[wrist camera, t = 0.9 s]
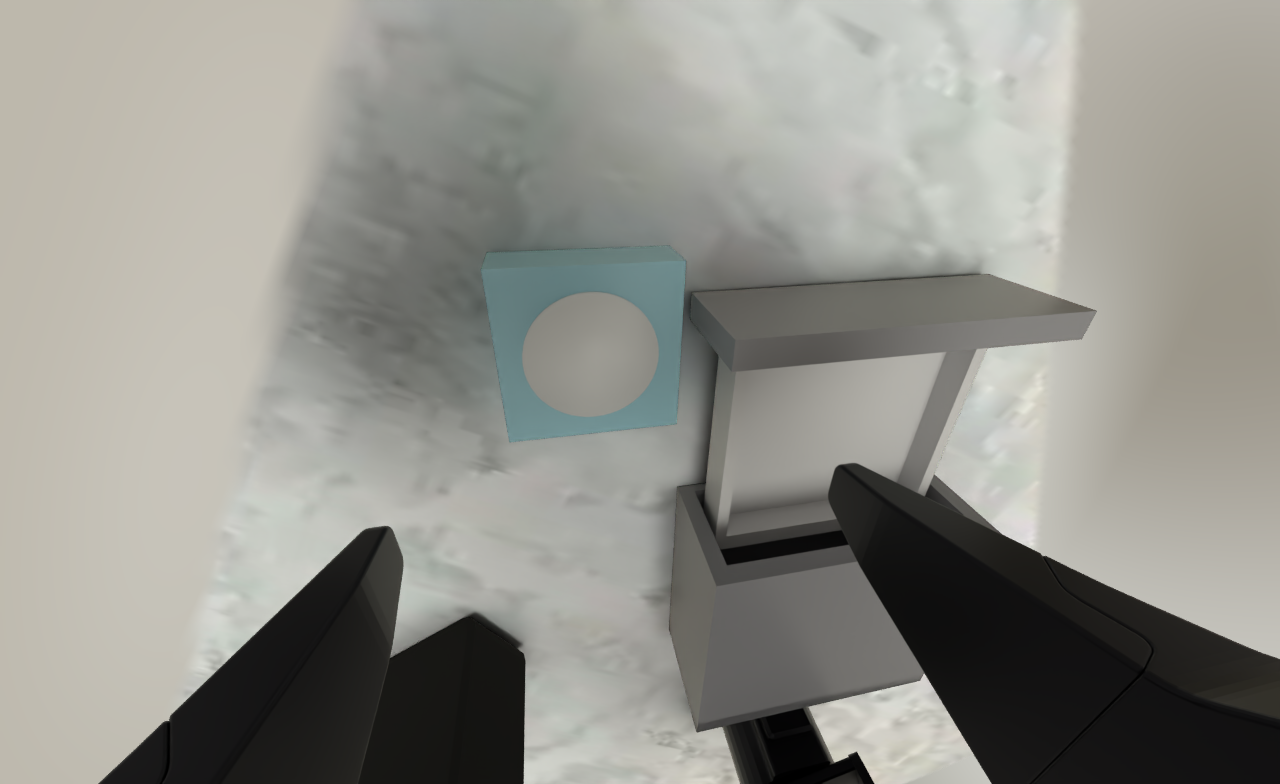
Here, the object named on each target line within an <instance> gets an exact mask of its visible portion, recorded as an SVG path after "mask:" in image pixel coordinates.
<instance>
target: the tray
mask: <svg viewBox="0 0 1280 784" xmlns="http://www.w3.org/2000/svg"><path fill="white" fill-rule="evenodd" d="M1096 312H1097V311H1096V310H1093V309H1090V308H1087V307H1084V306H1081V305H1078V304H1075V303H1072V302H1069V301H1067V300H1064V299H1061V298H1058V297H1055V296H1052V295H1049V294H1046V293H1043V292H1040V291H1037V290H1034V289H1031V288H1028V287H1025V286H1022V285H1019V284H1016V283H1013V282H1010V281H1007V280H1005V279H1002V278H999V277H996V276H993V275H990V274H984V275H967V276H951V277H935V278H919V279H903V280H887V281H870V282H854V283H838V284H822V285H806V286H790V287H774V288H757V289H741V290H725V291H709V292H693V293H692V295H691V311H690V320H691V321H692V322H693V323H694V325H695V326H696V327H697V329H698V330H699V331H700V332H701V334H702V335H703V336H704V337H705V339H706V340H707V341H708V343H709V344H710V345H711V346H712V348H713V349H714V350H715V351H716V353H717V354H718V355H719V359H718V369H717V379H716V389H715V399H714V409H713V418H712V428H711V438H710V448H709V458H708V468H707V478H706V488H705V498H704V508H703V512H704V514H705V516H706V518H707V521H708V523H709V525H710V528H711V530H712V532H713V535H714V537H715V539H716V541H717V544H718V546H719V548H720V550H721V549H727V548H734V547H740V546H746V545H752V544H758V543H764V542H770V541H777V540H783V539H789V538H795V537H801V536H807V535H813V534H820V533H826V532H832V531H838V530H842V529H841V527H840V525H839V523H838V521H837V519H836V517H835V515H834V512H833V510H832V508H831V506H830V504H829V501H828V491H829V487H830V484H831V480H832V476H833V473H834V470H835V468H836V467H837V466H838V465H840V464H847V463H858V464H860V465H862V466H864V467H866V468H868V469H870V470H872V471H874V472H876V473H878V474H880V475H882V476H884V477H886V478H888V479H890V480H892V481H894V482H896V483H898V484H901V485H903V486H905V487H907V488H909V489H911V490H913V491H915V492H917V493H919V494H921V495H923V496H925V494H926V492H927V490H928V487H929V485H930V483H931V480H932V478H933V476H934V473H935V471H936V469H937V466H938V464H939V461H940V459H941V457H942V454H943V452H944V450H945V447H946V445H947V443H948V440H949V438H950V436H951V433H952V431H953V429H954V426H955V424H956V422H957V419H958V417H959V415H960V412H961V410H962V408H963V405H964V403H965V401H966V398H967V396H968V394H969V391H970V389H971V386H972V384H973V382H974V379H975V377H976V375H977V372H978V370H979V368H980V365H981V363H982V361H983V358H984V356H985V354H986V351H987V349H988V348H994V347H1004V346H1015V345H1026V344H1036V343H1047V342H1058V341H1068V340H1079V339H1082V338H1083V336H1084V334H1085V332H1086V331H1087V328H1088V327H1089V325H1090V323H1091V321H1092V319H1093V318H1094V316H1095V314H1096Z"/></svg>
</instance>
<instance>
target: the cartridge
mask: <svg viewBox="0 0 1280 784" xmlns="http://www.w3.org/2000/svg"><path fill="white" fill-rule="evenodd" d="M685 272H686V260H685V259H684V258H683V257H682V256H680V255H679V254H678V253H677V252H676V251H675V250H674V249H673V248H672V247H670V246H645V247H618V248H591V249H564V250H538V251H511V252H487V253H486V256H485V259H484V262H483V265H482V268H481V274H482V280H483V286H484V292H485V298H486V304H487V310H488V316H489V322H490V328H491V334H492V340H493V346H494V352H495V358H496V364H497V371H498V377H499V383H500V389H501V395H502V401H503V407H504V413H505V419H506V425H507V431H508V437H509V442H517V441H527V440H536V439H545V438H554V437H563V436H573V435H582V434H591V433H600V432H609V431H618V430H628V429H637V428H646V427H655V426H664V425H673V424H677V409H678V392H679V375H680V358H681V340H682V323H683V306H684V289H685Z"/></svg>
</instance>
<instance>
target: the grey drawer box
mask: <svg viewBox="0 0 1280 784" xmlns="http://www.w3.org/2000/svg"><path fill="white" fill-rule="evenodd" d="M705 488H706V483H703V484H696V485H688V486H681V487H677V503H676V520H675V537H674V553H673V570H672V587H671V603H670V620H669V631H670V635H671V638H672V642H673V646H674V650H675V653H676V657H677V661H678V665H679V668H680V672H681V676H682V680H683V683H684V687H685V691H686V695H687V698H688V702H689V706H690V710H691V713H692V717H693V721H694V725H695V728H696V732H701V731H705V730H709V729H714V728H718V727H722V726H727V725H731V724H735V723H740V722H744V721H748V720H753V719H757V718H761V717H765V716H770V715H774V714H778V713H783V712H787V711H791V710H796V709H800V708H804V707H809V706H813V705H817V704H821V703H826V702H830V701H834V700H839V699H843V698H847V697H852V696H856V695H860V694H865V693H869V692H873V691H878V690H882V689H886V688H890V687H895V686H899V685H903V684H908V683H912V682H916V681H920V680H921V678H922V676H923V674H924V672H923V670H922V668H921V667H920V665H919V663H918V662H917V660H916V659H915V657H914V655H913V654H912V652H911V650H910V649H909V647H908V645H907V644H906V642H905V640H904V639H903V637H902V636H901V634H900V632H899V631H898V629H897V627H896V626H895V624H894V622H893V621H892V619H891V617H890V616H889V614H888V613H887V611H886V609H885V608H884V606H883V604H882V603H881V601H880V599H879V598H878V596H877V594H876V593H875V591H874V590H873V588H872V586H871V585H870V583H869V581H868V580H867V578H866V576H865V575H864V573H863V571H862V569H861V568H860V566H859V564H858V562H857V560H856V558H855V556H854V554H853V552H852V550H851V548H850V546H849V544H848V542H847V540H846V537H845V535H844V533H843V531H842V530H838V531H832V532H826V533H820V534H813V535H807V536H801V537H795V538H789V539H783V540H777V541H770V542H764V543H758V544H752V545H746V546H740V547H734V548H727V549H721V550H720V548H719V546H718V544H717V541H716V539H715V537H714V535H713V532H712V530H711V528H710V525H709V523H708V521H707V518H706V516H705V514H704V512H703V508H704V498H705ZM925 497H927V498H929V499H931V500H933V501H935V502H937V503H939V504H941V505H943V506H945V507H947V508H949V509H951V510H953V511H955V512H957V513H959V514H961V515H964V516H966V517H968V518H970V519H972V520H974V521H976V522H978V523H980V524H982V525H984V526H986V527H988V528H990V529H992V530H994V531H996V532H998V533H1000V532H999V531H998V530H996V529H995V528H994V527H993V526H992V525H991V524H990V523H989V522H987V521H986V520H985V519H984V518H983V517H982V516H981V515H980V514H978V513H977V512H976V511H975V510H974V509H973V508H972V507H970V506H969V505H968V504H967V503H966V502H965V501H964V500H963V499H961V498H960V497H959V496H958V495H957V494H956V493H955V492H954V491H952V490H951V489H950V488H949V487H948V486H947V485H946V484H944V483H943V482H942V481H941V480H940V479H939V478H938V477H937V476H935V475H934V476H933V478H932V480H931V483H930V485H929V487H928V490H927V492H926V494H925ZM1000 534H1001V533H1000Z"/></svg>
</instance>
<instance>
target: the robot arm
mask: <svg viewBox="0 0 1280 784" xmlns="http://www.w3.org/2000/svg"><path fill="white" fill-rule="evenodd" d="M828 501H829V504H830V506H831V508H832V510H833V512H834V515H835V517H836V519H837V521H838V523H839V525H840V527H841V529H842V531H843V533H844V535H845V537H846V540H847V542H848V544H849V546H850V548H851V550H852V552H853V554H854V556H855V558H856V560H857V562H858V564H859V566H860V568H861V569H862V571H863V573H864V575H865V576H866V578H867V580H868V581H869V583H870V585H871V586H872V588H873V590H874V591H875V593H876V594H877V596H878V598H879V599H880V601H881V603H882V604H883V606H884V608H885V609H886V611H887V613H888V614H889V616H890V617H891V619H892V621H893V622H894V624H895V626H896V627H897V629H898V631H899V632H900V634H901V636H902V637H903V639H904V640H905V642H906V644H907V645H908V647H909V649H910V650H911V652H912V654H913V655H914V657H915V659H916V660H917V662H918V663H919V665H920V667H921V668H922V670H923V672H924V673H925V675H926V677H927V678H928V680H929V682H930V683H931V685H932V686H933V688H934V690H935V691H936V693H937V695H938V696H939V698H940V700H941V701H942V703H943V705H944V706H945V708H946V709H947V711H948V713H949V714H950V716H951V718H952V719H953V721H954V723H955V724H956V726H957V728H958V729H959V731H960V732H961V734H962V736H963V737H964V739H965V741H966V742H967V744H968V746H969V747H970V749H971V751H972V752H973V754H974V755H975V757H976V759H977V760H978V762H979V763H980V765H981V767H982V769H983V770H984V772H985V773H986V775H987V777H988V778H989V780H990V782H991V783H992V784H1280V659H1278V658H1275V657H1272V656H1269V655H1266V654H1263V653H1261V652H1258V651H1256V650H1253V649H1251V648H1248V647H1246V646H1244V645H1241V644H1239V643H1237V642H1234V641H1232V640H1230V639H1227V638H1225V637H1223V636H1220V635H1218V634H1216V633H1214V632H1211V631H1209V630H1207V629H1205V628H1202V627H1200V626H1198V625H1195V624H1193V623H1191V622H1189V621H1186V620H1184V619H1182V618H1179V617H1177V616H1175V615H1172V614H1170V613H1168V612H1166V611H1163V610H1161V609H1159V608H1156V607H1154V606H1152V605H1149V604H1147V603H1145V602H1143V601H1140V600H1138V599H1136V598H1134V597H1132V596H1129V595H1127V594H1125V593H1123V592H1120V591H1118V590H1116V589H1114V588H1111V587H1109V586H1107V585H1105V584H1103V583H1101V582H1098V581H1096V580H1094V579H1092V578H1090V577H1088V576H1086V575H1084V574H1082V573H1080V572H1077V571H1075V570H1073V569H1071V568H1069V567H1067V566H1065V565H1063V564H1061V563H1059V562H1057V561H1055V560H1053V559H1051V558H1049V557H1047V556H1042V555H1041V554H1040V553H1039V552H1037V551H1035V550H1033V549H1031V548H1029V547H1026V546H1024V545H1022V544H1020V543H1018V542H1016V541H1014V540H1012V539H1010V538H1008V537H1006V536H1004V535H1002V534H1000V533H998V532H996V531H994V530H992V529H990V528H988V527H986V526H984V525H982V524H980V523H978V522H976V521H974V520H972V519H970V518H968V517H966V516H964V515H961V514H959V513H957V512H955V511H953V510H951V509H949V508H947V507H945V506H943V505H941V504H939V503H937V502H935V501H933V500H931V499H929V498H927V497H925V496H923V495H921V494H919V493H917V492H915V491H913V490H911V489H909V488H907V487H905V486H903V485H901V484H898V483H896V482H894V481H892V480H890V479H888V478H886V477H884V476H882V475H880V474H878V473H876V472H874V471H872V470H870V469H868V468H866V467H864V466H862V465H860V464H858V463H847V464H840V465H838V466H837V467H836V468H835V470H834V473H833V476H832V480H831V484H830V487H829V491H828ZM402 574H403V556H402V553H401V550H400V548H399V545H398V542H397V540H396V537H395V535H394V532H393V530H392V528H391V527H389V526H381V527H374V528H368V529H365V530H363V531H362V532H361V533H360V534H359V535H358V536H357V537H356V538H355V539H354V540H353V541H352V542H351V543H349V544H348V545H347V546H346V547H345V548H344V549H343V550H342V551H341V552H340V553H339V554H338V555H337V556H336V557H335V558H334V559H333V560H332V561H331V562H330V563H329V564H328V565H327V566H326V567H325V568H323V569H322V570H321V571H320V572H319V573H318V574H317V575H316V576H315V577H314V578H313V579H312V580H311V581H310V582H309V583H308V584H307V585H306V586H305V587H304V588H303V589H302V590H301V591H300V592H299V593H297V594H296V595H295V596H294V597H293V598H292V599H291V600H290V601H289V602H288V603H287V604H286V605H285V606H284V607H283V608H282V609H281V610H280V611H279V612H278V613H277V614H276V615H275V616H274V617H272V618H271V619H270V620H269V621H268V622H267V623H266V624H265V625H264V626H263V627H262V628H261V629H260V630H259V631H258V632H257V633H256V634H255V635H254V636H253V637H252V638H251V639H250V640H249V641H248V642H246V643H245V644H244V645H243V646H242V647H241V648H240V649H239V650H238V651H237V652H236V653H235V654H234V655H233V656H232V657H231V658H230V659H229V660H228V661H227V662H226V663H225V664H224V665H223V666H222V667H220V668H219V669H218V670H217V671H216V672H215V673H214V674H213V675H212V676H211V677H210V678H209V679H208V680H207V681H206V682H205V683H204V684H203V685H202V686H201V687H200V688H199V689H198V690H197V691H196V692H194V693H193V694H192V695H191V696H190V697H189V698H188V699H187V700H186V701H185V702H184V703H183V704H182V705H181V706H180V707H179V708H178V709H177V710H176V711H175V712H174V713H173V714H172V715H171V716H170V719H169V721H165V722H163V723H162V724H161V725H160V726H159V727H158V728H157V729H156V730H155V731H154V732H153V733H152V734H151V735H150V736H148V737H147V738H146V739H145V740H144V741H143V742H142V743H141V744H140V745H139V746H138V747H137V748H136V749H135V750H134V751H133V752H132V753H131V754H130V755H128V756H127V757H126V758H125V759H124V760H123V761H122V762H121V763H120V764H119V765H118V766H117V767H116V768H115V769H113V770H112V771H111V772H110V773H109V774H108V775H107V776H106V777H105V778H104V779H103V780H102V781H101V782H100V783H99V784H358V781H359V777H360V773H361V769H362V765H363V761H364V757H365V753H366V749H367V746H368V742H369V738H370V734H371V730H372V726H373V722H374V718H375V714H376V710H377V707H378V703H379V699H380V695H381V691H382V687H383V683H384V679H385V675H386V671H387V668H388V664H389V659H390V655H391V650H392V644H393V638H394V631H395V624H396V617H397V610H398V603H399V595H400V588H401V581H402ZM722 727H723V730H724V733H725V736H726V740H727V743H728V746H729V749H730V752H731V756H732V759H733V762H734V765H735V768H736V772H737V775H738V778H739V781H740V784H874V782H873V780H872V778H871V777H870V775H869V773H868V771H867V769H866V768H865V766H864V764H863V762H862V760H861V758H860V757H859V755H858V753H857V752H855V753H852V754H850V755H848V756H849V757H848V758H845V759H843V760H840V761H838V762H835V763H834V761H833V759H832V757H831V755H830V752H829V750H828V748H827V746H826V744H825V742H824V740H823V737H822V735H821V733H820V731H819V729H818V727H817V725H816V723H815V720H814V718H813V716H812V714H811V712H810V710H809V708H808V707H804V708H800V709H796V710H791V711H787V712H783V713H778V714H774V715H770V716H765V717H761V718H757V719H753V720H748V721H744V722H740V723H735V724H731V725H727V726H722Z"/></svg>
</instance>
